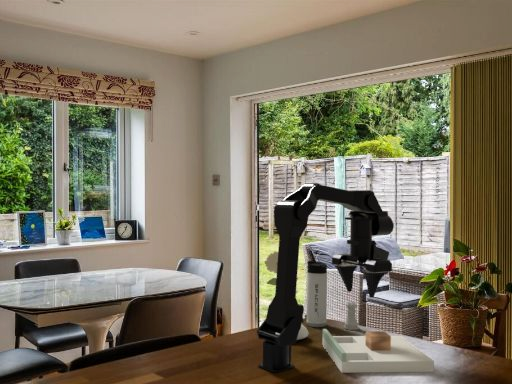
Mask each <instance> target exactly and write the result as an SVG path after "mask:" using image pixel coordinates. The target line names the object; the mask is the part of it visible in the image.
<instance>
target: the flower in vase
mask: <svg viewBox="0 0 512 384" xmlns="http://www.w3.org/2000/svg"><path fill="white" fill-rule="evenodd" d="M277 263H278V251H273V252H272V253H270V254H268V256H267V257H266V260H264V264H265V267H266V270H267V271H269V272H270V273H271V272H272V273H274V274H277ZM298 279H299V277H297V281H298ZM266 284H267V285H272V286H276V277H273V278H271V279H269V280H268V281H267V282H266ZM298 292H299V290H298V289H296V294H297V293H298ZM275 334H276V335H280V333H277V332H276V333H275ZM308 336H309V331H308V329H307V327H306V326H305V325H303V323H301V328H300V330H299V333H298V337H297V340H296V341H299V340H303V339H305V338H307V337H308Z"/></svg>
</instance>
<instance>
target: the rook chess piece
mask: <svg viewBox="0 0 512 384" xmlns="http://www.w3.org/2000/svg"><path fill="white" fill-rule="evenodd" d="M345 306H346V308H347V309H346V312H347V313H346V319H345V321H344V326H343V327H344V329H345V330H347V329H349V330H348V331H357V330H358V329H359V323H358V321H357V318H356V317H357V315H356V312H357V310H356V308H357V303H356V302H355V301H347V303H346V305H345Z"/></svg>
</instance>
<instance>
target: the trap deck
mask: <svg viewBox="0 0 512 384" xmlns="http://www.w3.org/2000/svg"><path fill="white" fill-rule="evenodd" d="M390 336H391V350H370V349H369V348H368V347H367V346H366V335H342V336H341V335H337V336H336V335H332V334H331V333H330V331H329V330H328V329H327V328H322V340H321V341H322V345H323V346H322V347H323V348H324V350H325V349H326V350H325V351H326V352H328V353H327V354H328V356H329V357H330V358H331V360H332V361H333V362H335V363H334V364H335V365H336V367H337V368H338V369H339V370H338V371H340V373H341V374H342V373H343V374H344V373H348V374H349V373H420V372H421V373H432V372H435V360H433V359H432V358H431V357H430V356H428V355H427V354H426V353H424V352H423V351H421V350H420V349H419V348H418V347H416V346H415V345H413V343H411V342H410V341H408V340H407V339H406V338H404V337H403V336H402V335H390Z"/></svg>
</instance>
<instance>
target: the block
mask: <svg viewBox="0 0 512 384" xmlns="http://www.w3.org/2000/svg"><path fill="white" fill-rule="evenodd" d="M365 336H366V346H367V347H368V348H369V349H370V350H391V336H392V335H390V334H388V333H387V332H386V331H385V330H384V331H381V330H379V331H374V330H373V331H372V330H371V331H370V330H368V331H365Z"/></svg>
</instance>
